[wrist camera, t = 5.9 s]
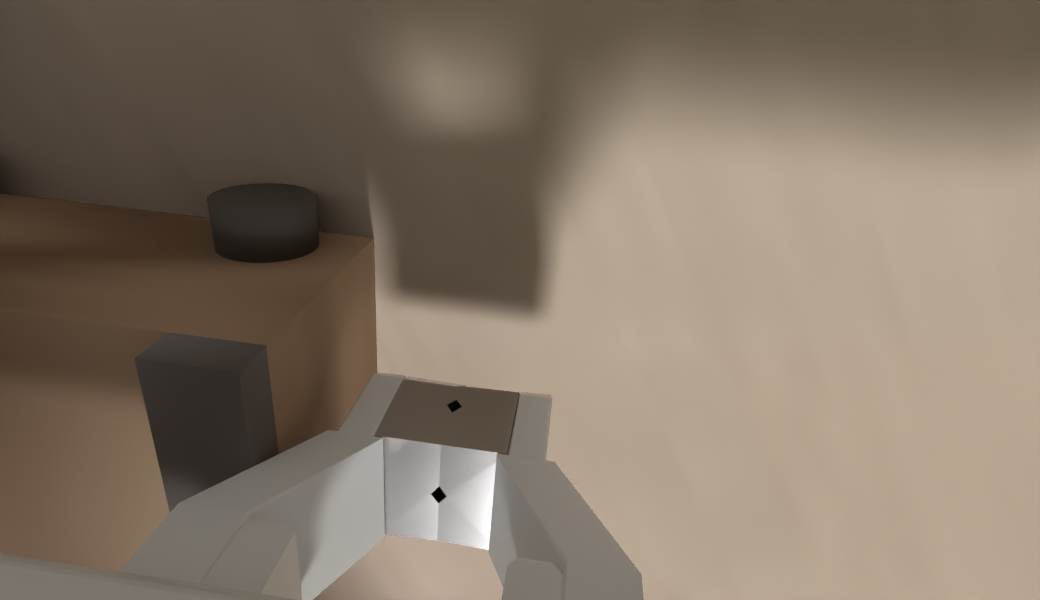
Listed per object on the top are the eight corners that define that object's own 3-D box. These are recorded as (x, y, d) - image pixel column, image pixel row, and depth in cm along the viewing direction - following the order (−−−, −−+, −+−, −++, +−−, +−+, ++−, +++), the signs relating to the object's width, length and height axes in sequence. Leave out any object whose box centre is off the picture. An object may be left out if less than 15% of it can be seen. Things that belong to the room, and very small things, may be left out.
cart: (376, 191, 10) (229, 306, 6) (382, 483, 13) (285, 696, 9) (-105, 136, 11) (-539, 207, 7) (1, 427, 14) (-257, 604, 10)
